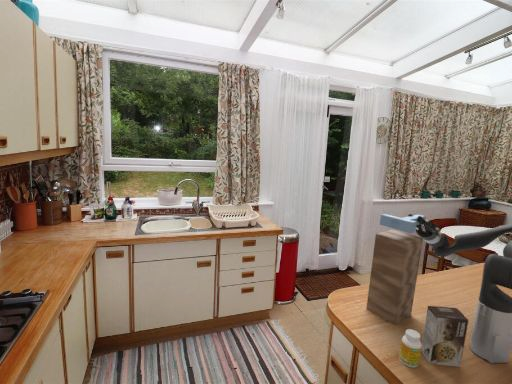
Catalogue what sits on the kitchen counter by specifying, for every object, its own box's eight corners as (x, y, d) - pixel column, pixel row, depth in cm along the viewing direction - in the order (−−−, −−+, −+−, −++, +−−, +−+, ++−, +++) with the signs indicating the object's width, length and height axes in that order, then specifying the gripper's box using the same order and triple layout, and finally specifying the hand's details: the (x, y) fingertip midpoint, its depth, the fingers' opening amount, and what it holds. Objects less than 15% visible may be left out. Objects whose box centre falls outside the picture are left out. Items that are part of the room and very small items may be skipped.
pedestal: (383, 300, 123) (392, 229, 117) (411, 314, 113) (423, 238, 108) (366, 308, 116) (375, 233, 111) (394, 324, 107) (406, 243, 101)
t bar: (406, 218, 122) (407, 209, 122) (436, 226, 113) (438, 216, 112) (379, 224, 111) (381, 214, 110) (410, 233, 101) (412, 222, 101)
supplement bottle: (408, 369, 85) (412, 340, 84) (395, 356, 90) (399, 328, 89) (422, 366, 87) (427, 337, 85) (409, 353, 92) (413, 326, 90)
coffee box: (448, 352, 93) (457, 307, 90) (460, 367, 87) (470, 320, 84) (419, 349, 94) (427, 304, 91) (429, 364, 88) (437, 316, 85)
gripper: (415, 220, 129) (400, 205, 120) (449, 229, 118) (436, 212, 108) (409, 235, 128) (393, 221, 119) (443, 245, 117) (429, 230, 107)
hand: (414, 217), depth 113 cm, fingers closed on t bar, 3 cm apart
